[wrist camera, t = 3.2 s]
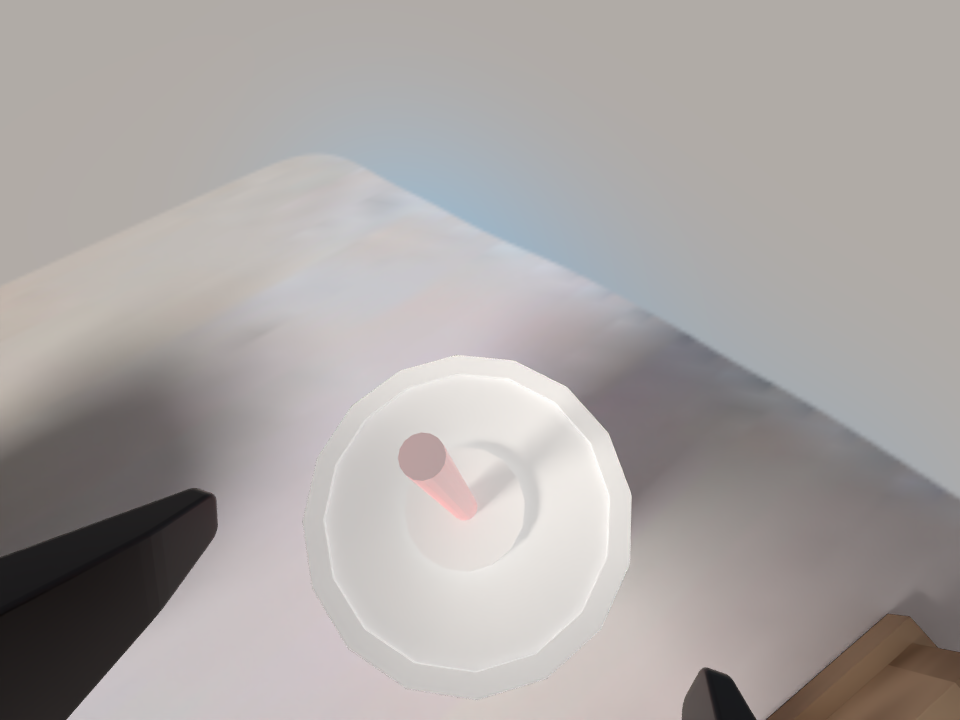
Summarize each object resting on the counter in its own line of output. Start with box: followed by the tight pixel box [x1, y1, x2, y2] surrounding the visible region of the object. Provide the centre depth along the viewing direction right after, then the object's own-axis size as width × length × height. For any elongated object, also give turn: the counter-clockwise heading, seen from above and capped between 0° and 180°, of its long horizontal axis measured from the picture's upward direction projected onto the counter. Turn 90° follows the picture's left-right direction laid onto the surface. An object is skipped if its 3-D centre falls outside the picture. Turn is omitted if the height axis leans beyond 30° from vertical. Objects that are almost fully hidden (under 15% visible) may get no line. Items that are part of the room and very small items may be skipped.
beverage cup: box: [302, 355, 632, 700], centre depth 12 cm, size 6×6×14 cm
